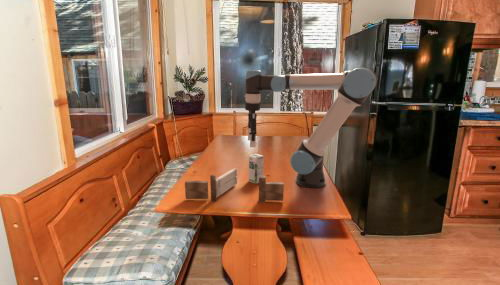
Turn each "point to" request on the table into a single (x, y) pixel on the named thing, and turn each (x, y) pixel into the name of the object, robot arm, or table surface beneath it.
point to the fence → (200, 189)
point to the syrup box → (255, 167)
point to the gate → (226, 181)
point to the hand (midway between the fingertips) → (251, 143)
